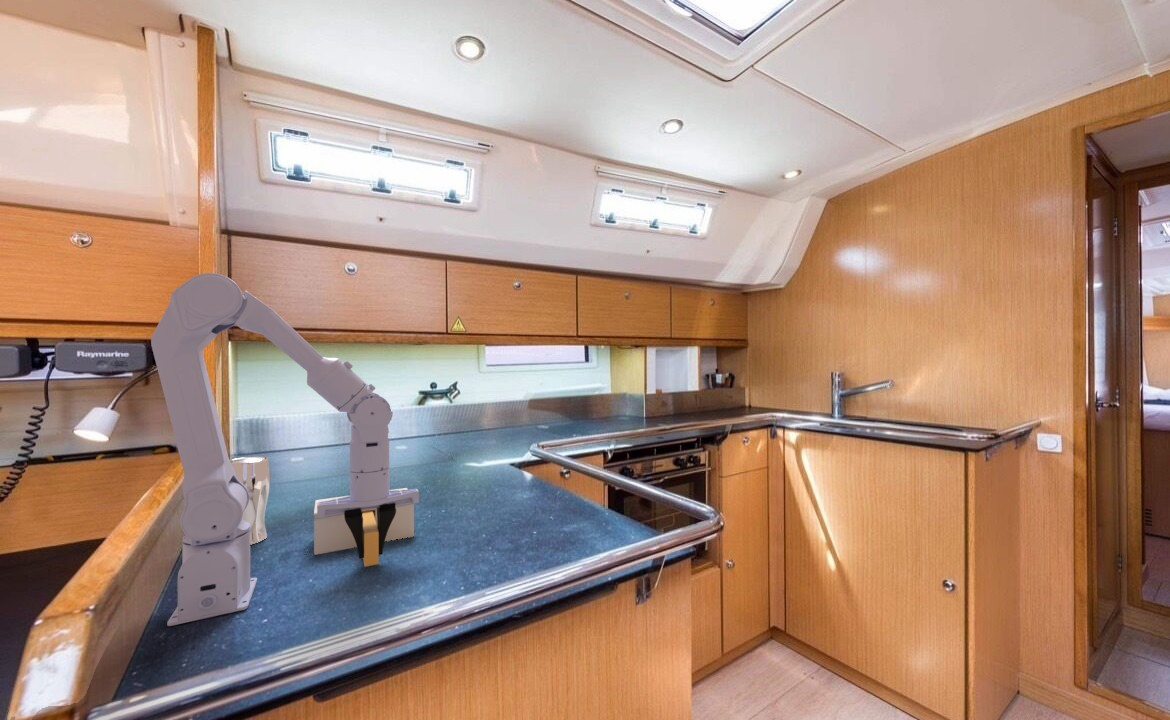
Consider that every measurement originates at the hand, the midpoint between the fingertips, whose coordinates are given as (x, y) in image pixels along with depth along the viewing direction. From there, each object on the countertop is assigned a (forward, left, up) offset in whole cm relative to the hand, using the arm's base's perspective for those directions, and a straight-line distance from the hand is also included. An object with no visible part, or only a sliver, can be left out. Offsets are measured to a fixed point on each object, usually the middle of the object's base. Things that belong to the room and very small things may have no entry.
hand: (370, 554), depth 72 cm
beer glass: (+23, +19, -2) cm, 30 cm away
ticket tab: (+4, 0, -1) cm, 5 cm away
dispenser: (+14, 0, -2) cm, 14 cm away
